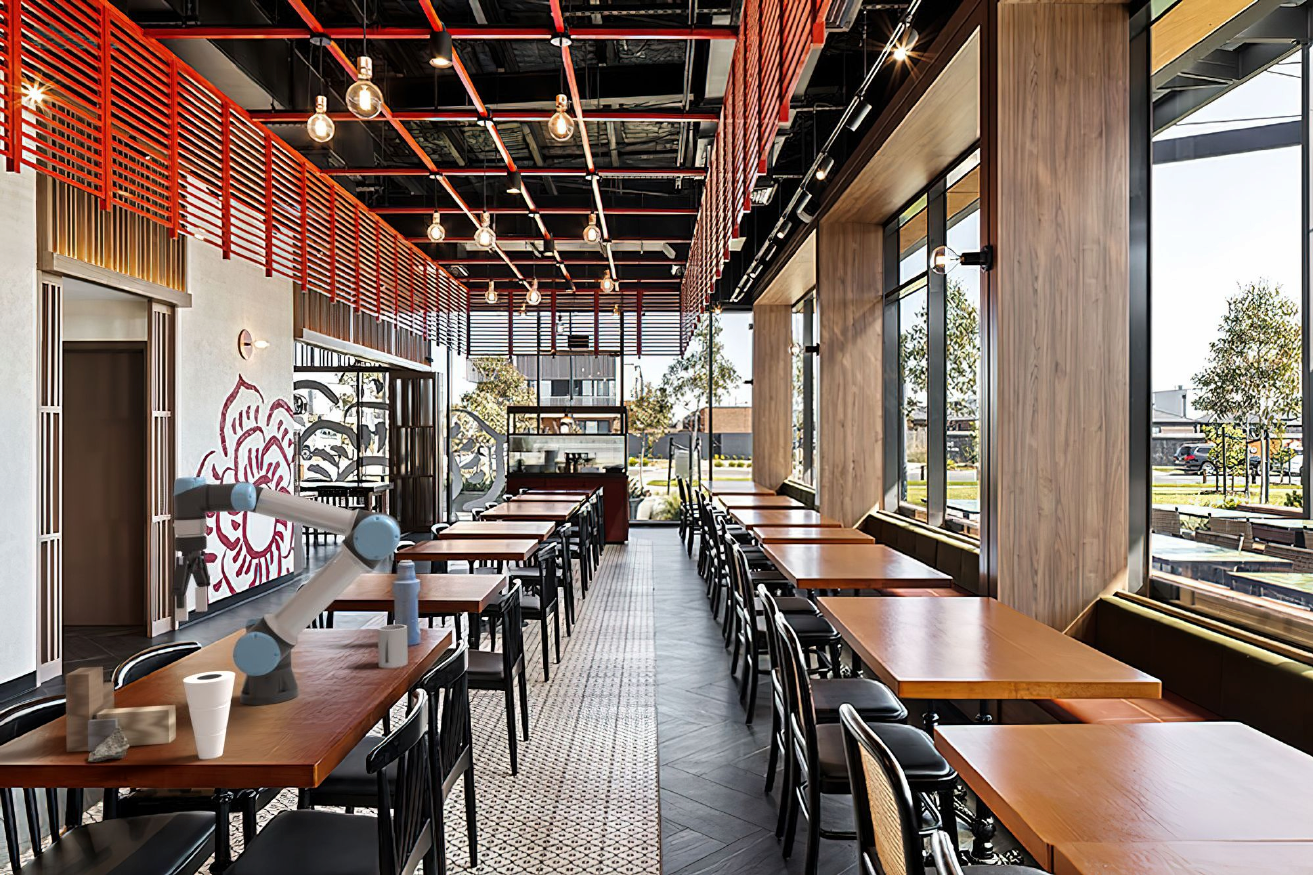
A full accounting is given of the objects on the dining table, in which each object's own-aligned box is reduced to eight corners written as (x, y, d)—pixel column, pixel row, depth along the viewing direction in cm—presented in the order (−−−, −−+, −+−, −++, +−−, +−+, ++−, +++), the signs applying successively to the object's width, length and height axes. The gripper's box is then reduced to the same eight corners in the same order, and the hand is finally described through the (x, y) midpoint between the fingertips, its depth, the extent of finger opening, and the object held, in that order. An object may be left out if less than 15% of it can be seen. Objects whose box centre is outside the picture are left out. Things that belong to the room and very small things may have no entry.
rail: (175, 737, 214) (175, 704, 214) (169, 743, 210) (168, 709, 210) (102, 742, 211) (102, 709, 211) (94, 748, 207) (94, 714, 207)
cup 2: (195, 767, 193) (193, 685, 193) (177, 756, 200) (175, 678, 200) (244, 754, 201) (243, 675, 201) (225, 744, 208) (223, 668, 208)
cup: (407, 659, 289) (406, 623, 290) (408, 666, 281) (407, 628, 281) (378, 662, 286) (377, 626, 287) (378, 669, 278) (378, 631, 278)
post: (146, 727, 222) (145, 656, 223) (115, 749, 206) (114, 672, 206) (99, 730, 221) (98, 659, 221) (65, 752, 204) (64, 675, 204)
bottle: (395, 641, 318) (394, 559, 318) (423, 640, 319) (421, 558, 319) (390, 647, 308) (388, 562, 309) (418, 646, 309) (417, 561, 310)
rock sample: (73, 742, 200) (106, 713, 202) (97, 755, 205) (130, 727, 208) (84, 771, 193) (119, 741, 196) (110, 784, 199) (143, 754, 201)
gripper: (193, 531, 243) (194, 608, 242) (155, 540, 218) (156, 625, 218) (221, 530, 244) (223, 606, 243) (187, 539, 219) (189, 624, 219)
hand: (191, 615), depth 231 cm, fingers open, 13 cm apart
